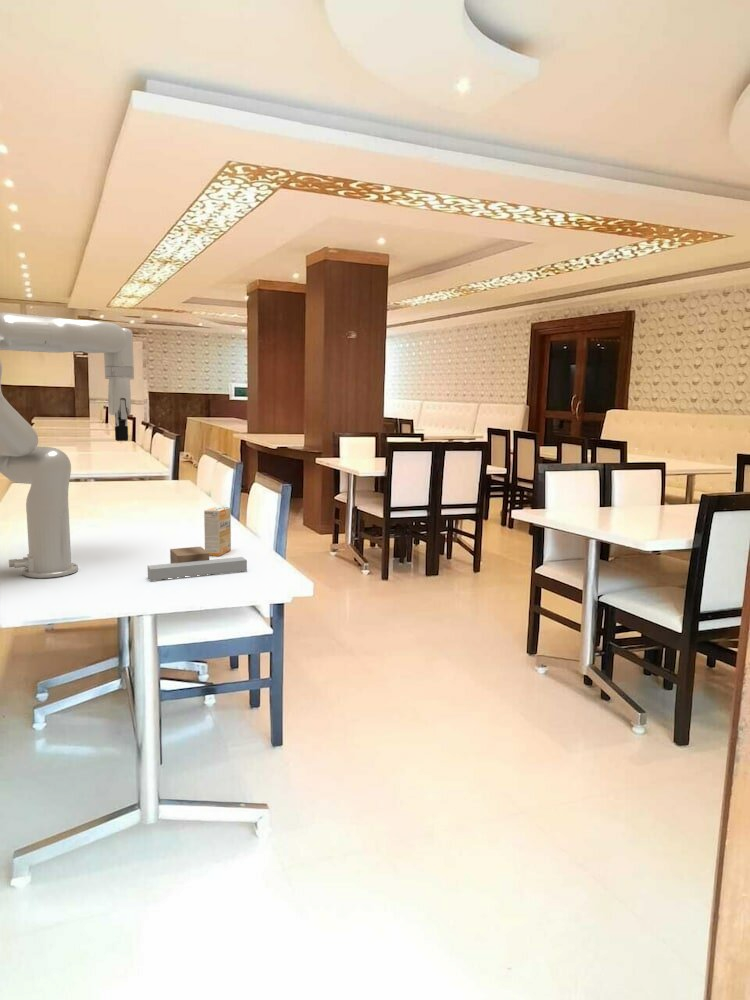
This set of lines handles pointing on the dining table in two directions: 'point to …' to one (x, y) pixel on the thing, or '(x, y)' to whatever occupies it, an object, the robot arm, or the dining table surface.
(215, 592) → the dining table surface
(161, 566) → the grey board
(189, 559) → the walnut block
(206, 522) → the supplement box
